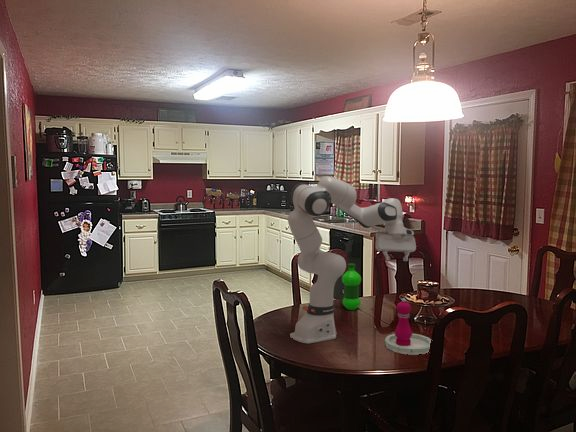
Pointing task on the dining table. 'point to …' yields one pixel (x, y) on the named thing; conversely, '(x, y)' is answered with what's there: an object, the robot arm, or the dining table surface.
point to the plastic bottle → (351, 288)
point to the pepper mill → (403, 324)
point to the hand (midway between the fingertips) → (396, 260)
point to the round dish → (416, 347)
